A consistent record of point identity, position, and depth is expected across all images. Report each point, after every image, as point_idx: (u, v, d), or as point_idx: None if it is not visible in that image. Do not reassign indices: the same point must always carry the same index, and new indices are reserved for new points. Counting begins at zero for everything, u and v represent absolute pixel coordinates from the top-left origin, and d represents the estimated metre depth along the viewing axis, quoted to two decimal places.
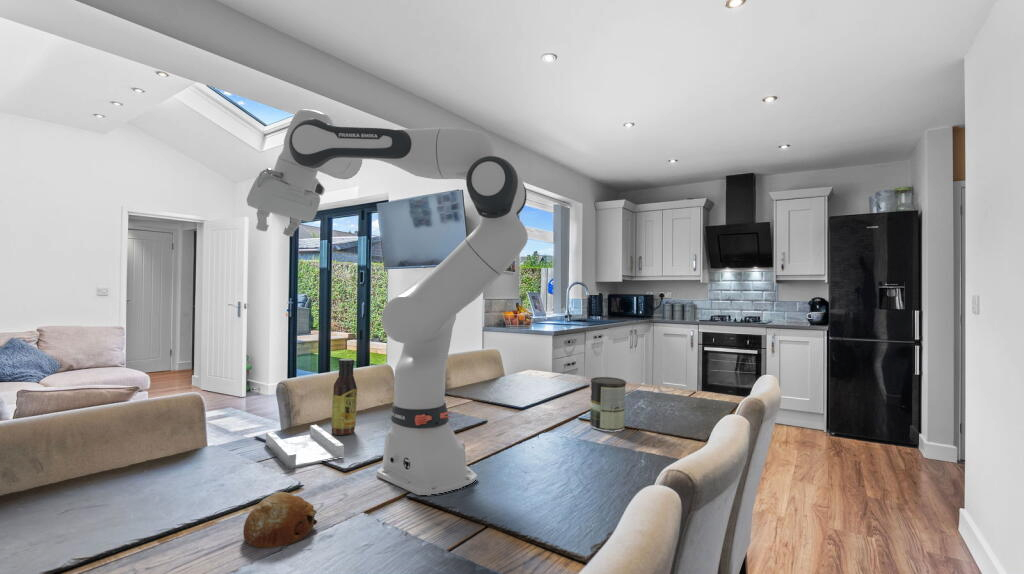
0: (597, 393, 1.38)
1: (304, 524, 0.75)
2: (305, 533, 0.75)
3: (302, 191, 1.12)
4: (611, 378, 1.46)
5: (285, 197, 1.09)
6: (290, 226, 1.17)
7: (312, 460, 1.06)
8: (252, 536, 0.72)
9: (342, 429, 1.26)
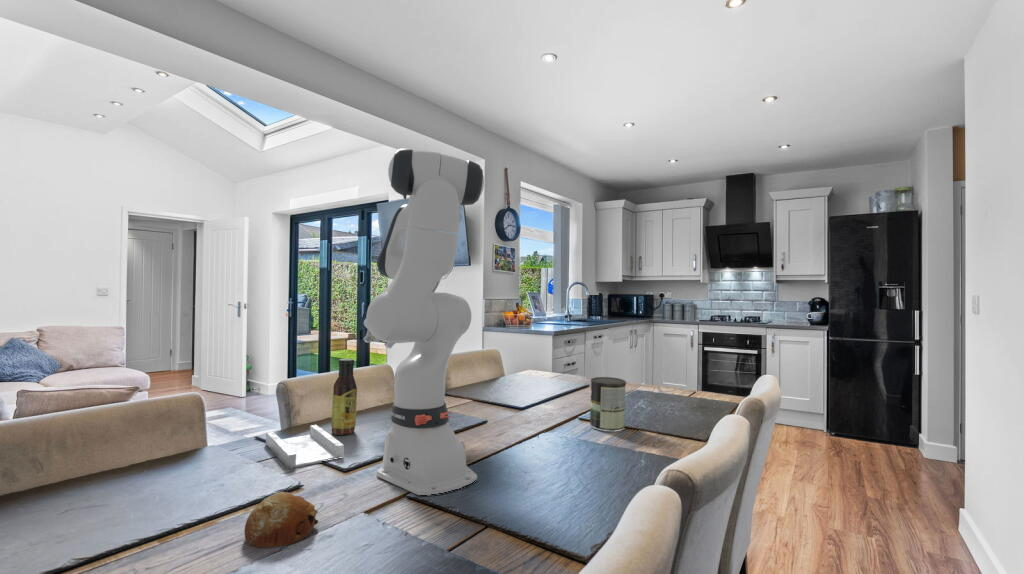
0: (597, 393, 1.38)
1: (305, 524, 0.75)
2: (306, 533, 0.75)
3: None
4: (611, 378, 1.46)
5: None
6: None
7: (312, 460, 1.06)
8: (253, 536, 0.72)
9: (342, 429, 1.26)
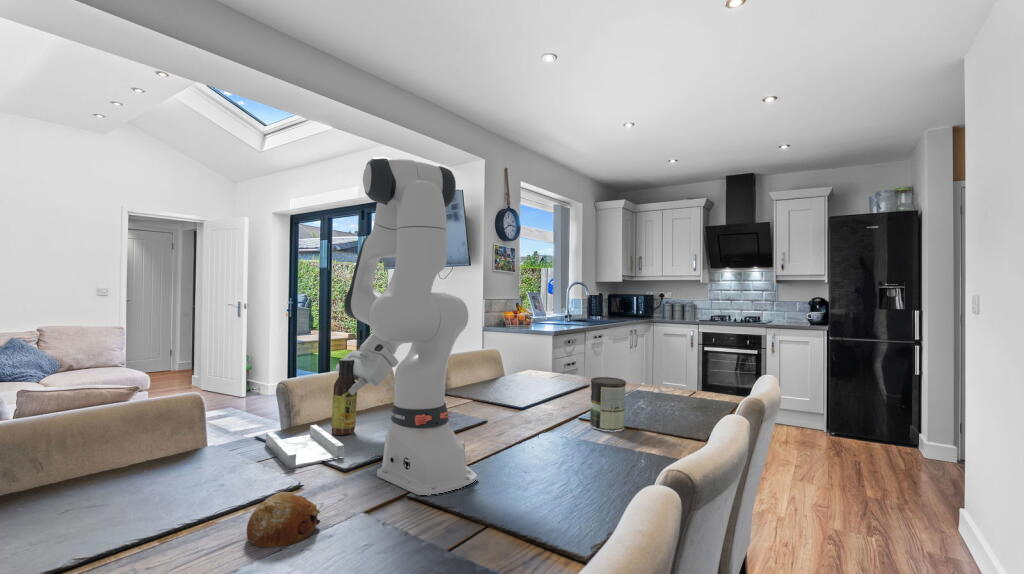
0: (597, 393, 1.38)
1: (307, 524, 0.75)
2: (308, 533, 0.75)
3: (364, 351, 1.33)
4: (611, 378, 1.46)
5: (356, 360, 1.34)
6: None
7: (312, 460, 1.06)
8: (256, 535, 0.72)
9: (342, 428, 1.26)
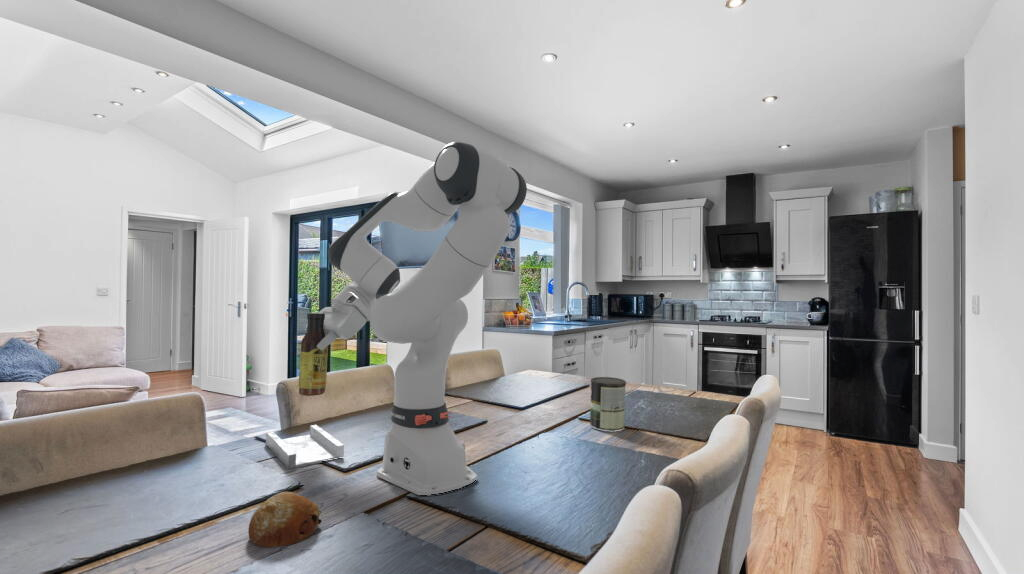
0: (597, 393, 1.38)
1: (309, 523, 0.75)
2: (310, 532, 0.75)
3: (336, 304, 1.20)
4: (611, 378, 1.46)
5: (328, 316, 1.21)
6: None
7: (312, 460, 1.06)
8: (257, 535, 0.72)
9: (310, 389, 1.13)
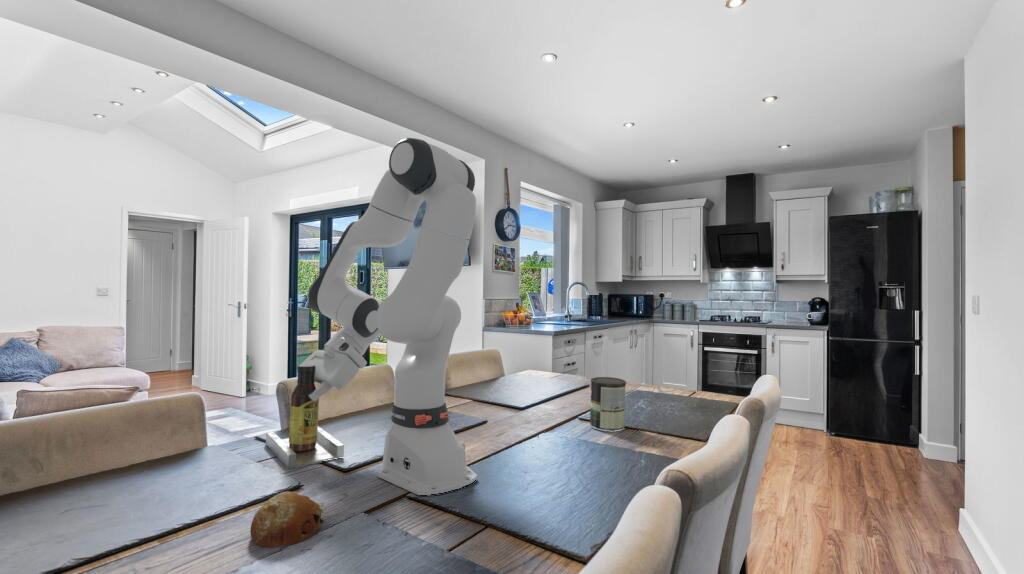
0: (597, 393, 1.38)
1: (311, 523, 0.75)
2: (312, 532, 0.75)
3: (328, 350, 1.18)
4: (611, 378, 1.46)
5: (320, 361, 1.19)
6: None
7: (312, 460, 1.06)
8: (259, 535, 0.72)
9: (300, 444, 1.11)
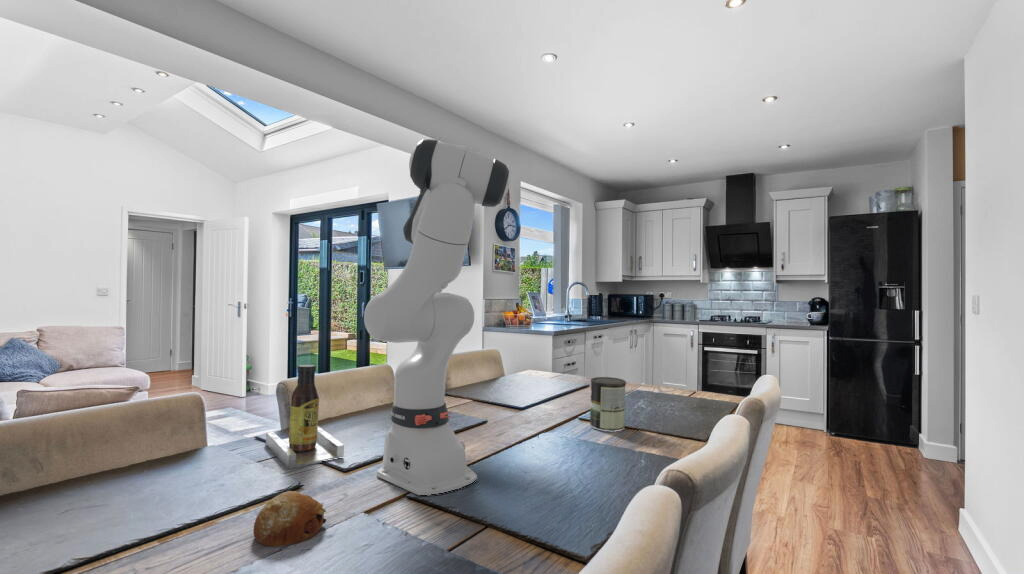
0: (597, 393, 1.38)
1: (314, 523, 0.75)
2: (315, 532, 0.75)
3: None
4: (611, 378, 1.46)
5: None
6: None
7: (312, 460, 1.06)
8: (263, 534, 0.72)
9: (300, 444, 1.11)
